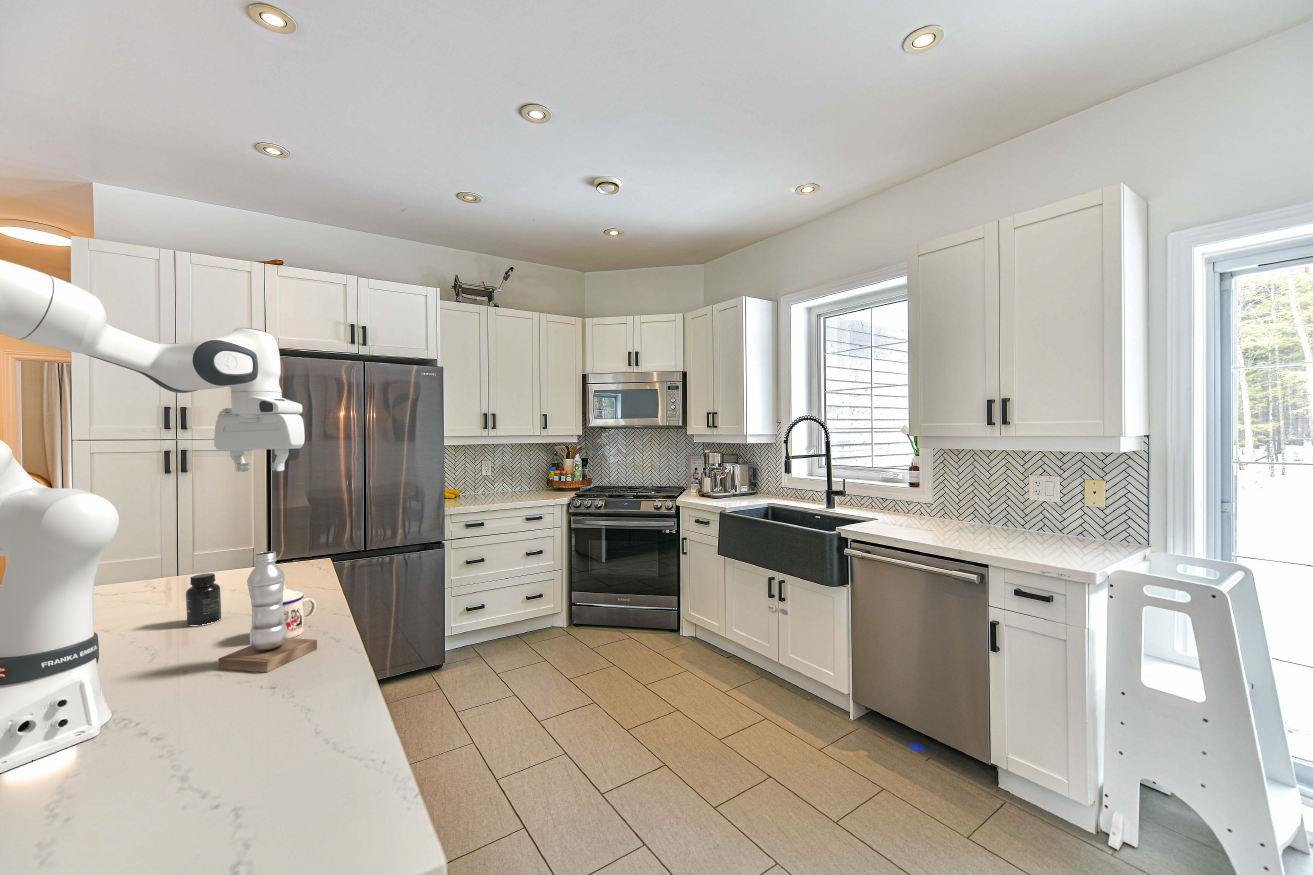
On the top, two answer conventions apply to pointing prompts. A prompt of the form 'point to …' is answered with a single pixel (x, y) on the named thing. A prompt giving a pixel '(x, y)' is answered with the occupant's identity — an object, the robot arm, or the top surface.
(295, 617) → the teacup with lid
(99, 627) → the top surface
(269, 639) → the plastic bottle
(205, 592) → the supplement bottle
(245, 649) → the display stand
